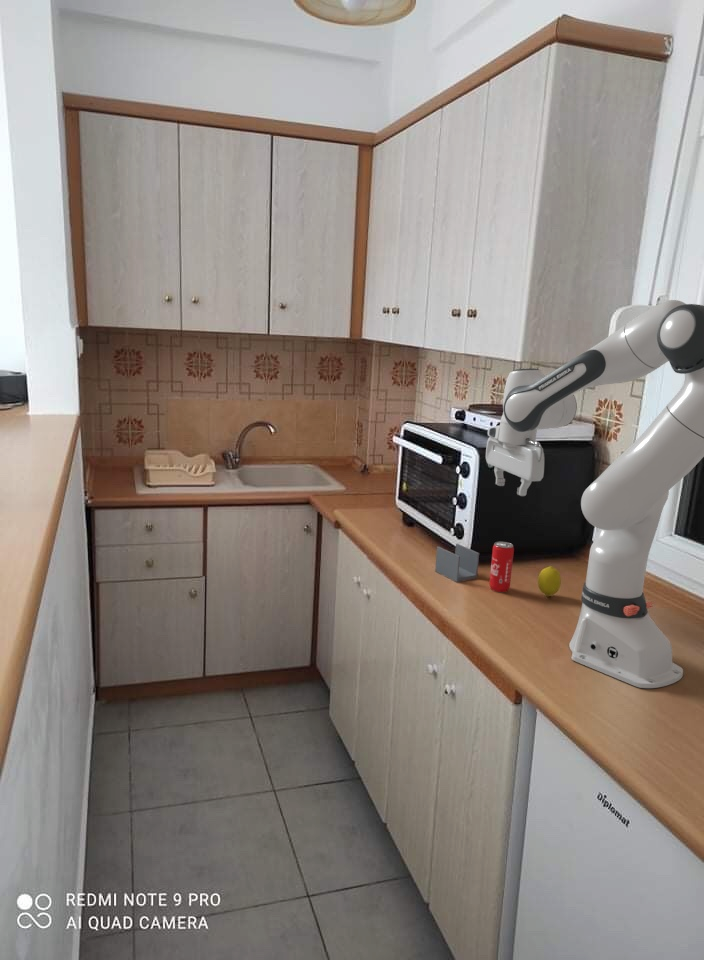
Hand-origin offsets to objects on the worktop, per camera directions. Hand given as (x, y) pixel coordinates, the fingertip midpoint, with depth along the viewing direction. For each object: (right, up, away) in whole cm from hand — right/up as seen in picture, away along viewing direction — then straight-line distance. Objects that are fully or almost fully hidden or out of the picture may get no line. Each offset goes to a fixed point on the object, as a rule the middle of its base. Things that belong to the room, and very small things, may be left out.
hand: (510, 490), depth 176 cm
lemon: (+10, -27, +3) cm, 29 cm away
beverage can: (-1, -26, +7) cm, 27 cm away
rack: (-11, -23, +15) cm, 30 cm away
